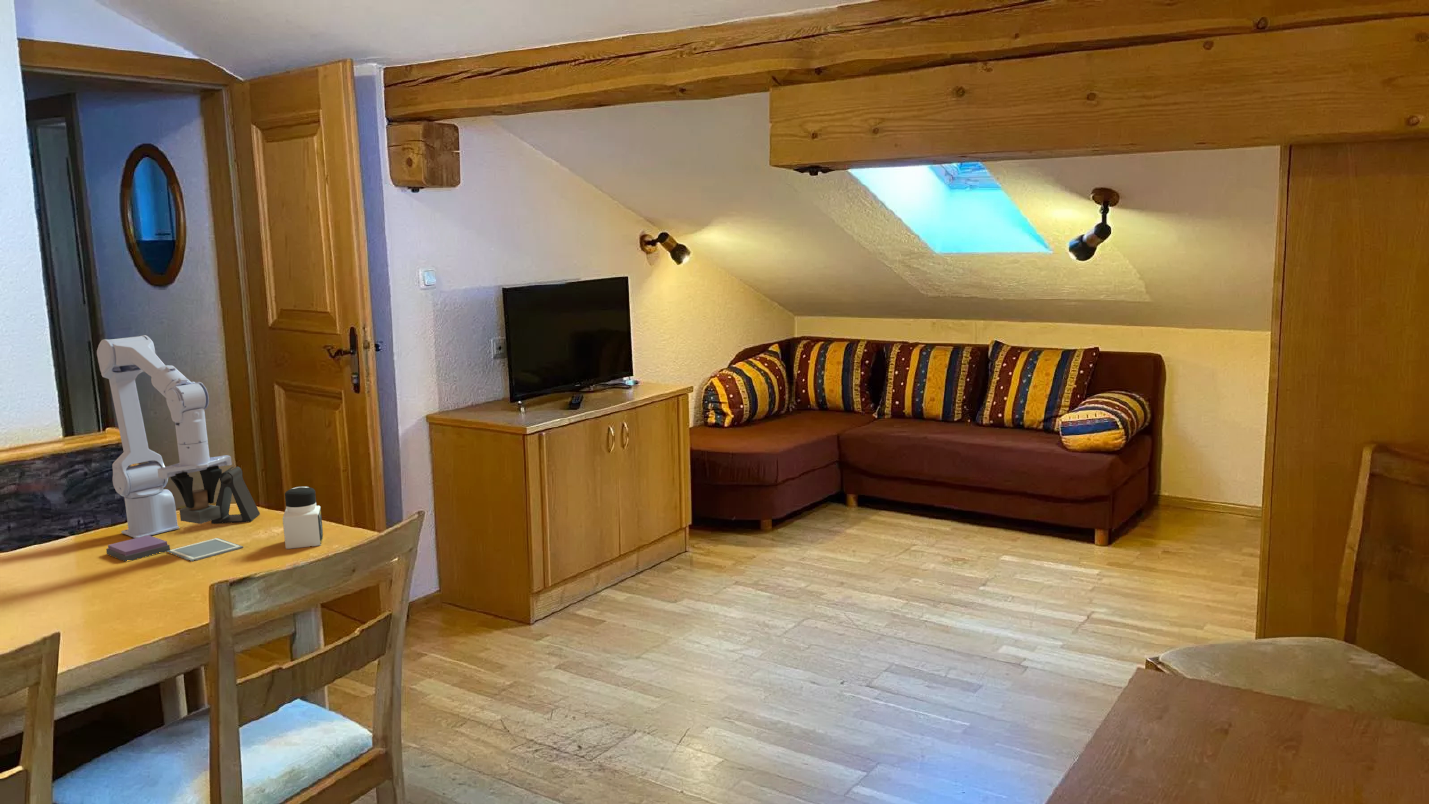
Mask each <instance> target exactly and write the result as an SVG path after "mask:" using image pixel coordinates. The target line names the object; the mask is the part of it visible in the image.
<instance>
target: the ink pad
mask: <svg viewBox="0 0 1429 804" xmlns="http://www.w3.org/2000/svg"><path fill="white" fill-rule="evenodd" d="M170 547H171V545H170V544H168V541H166V540H164V539H161V538H159V537H156V536H154V535H147V536H143V537H139V538H132V539H127V540H123V541H119V542H115V543H111V544H107V548H105V549H106V555H107V554H108V556H110V555H111V556H110V557H112V556H113V558H115V557H116V559H117V558H118V560H120V561H122V560H124V561H123V562H125V561H127V560H132V561H135V560H134V559H136V560H138V559H137V558H140V559H142V557H144V558H146V557H145V556H147V557H150V556H149V555H151V556H153V555H152V554H155V555H157V554H156V553H159V552H163V553H167V552H166V551H168V550H171V548H170ZM159 554H160V553H159Z"/></svg>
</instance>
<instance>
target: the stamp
mask: <svg viewBox="0 0 1429 804" xmlns="http://www.w3.org/2000/svg"><path fill="white" fill-rule="evenodd" d="M192 492H193V500H194V508H188V507H186V506H185V507H183V508H180V509H178V510H179V517H180V518H179V519H180V522H184V523H185V522H186V523H191V524H198V525H202V524H205V523H207V522H211V520H214V519H218V518H221V515H220V506H216V504H215V505H214V504H210V503H208V494H207V490H205V489H204V488H203V489H192Z"/></svg>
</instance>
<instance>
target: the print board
mask: <svg viewBox="0 0 1429 804" xmlns="http://www.w3.org/2000/svg"><path fill="white" fill-rule="evenodd" d="M243 548H244V545H243V546H242V545H241V544H237V543H234V542H231V541H228V540H225V539H222V538H219V537H214V538H211V539H207V540H203V541H200V542H195V543H192V544H188V545H184V546H180V547H177V548H172V549H170V550H168V551H166V552H165V553H167V552H169V553H168V554H170V553H172V554H174V555H173V556H175V555H177V556H176V557H178V556H179V557H178V558H180V557H181V559H183V558H184V559H183V560H186V561H188V560H190V561H189V562H191V561H192V562H195V561H194V560H196V561H198V560H203V559H207V558H211V557H215V556H218V555H221V554H225V553H229V552H230V553H231V552H233V551H236V550H237V551H238V550H240V549H243ZM172 554H171V555H172Z"/></svg>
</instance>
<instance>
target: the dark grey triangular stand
mask: <svg viewBox="0 0 1429 804" xmlns="http://www.w3.org/2000/svg"><path fill="white" fill-rule="evenodd" d="M219 482H220V487H219V491H218V494H217V498H216V502H215V505H216V506H220V515H221V518H218V519H214V520H211V521H210V523H211V525H217V524H218V525H219V524H231V523H232V524H235V523H236V524H237V523H238V524H239V523H251V522H253V521H254V520H255V519H256V518H257V517H258V516H260V515H261V513H260V510H259V508H258V506H257V504H256V502H255V500H254V498H253V497H252V495H251V492H250V490H249V489H248V487H247V485H246V483H245V480H244V478H243V470H242V468H241V467H239V466H237V465H236V466H235V467H234V466H231V467H230V468H228V469H226V470H225V471H222V474H221V476H220V478H219ZM232 496H233V498H234V501H235V503H236V505H237V508H238V512H239V514H230V510H231V509H230V508H231V503H232Z"/></svg>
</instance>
